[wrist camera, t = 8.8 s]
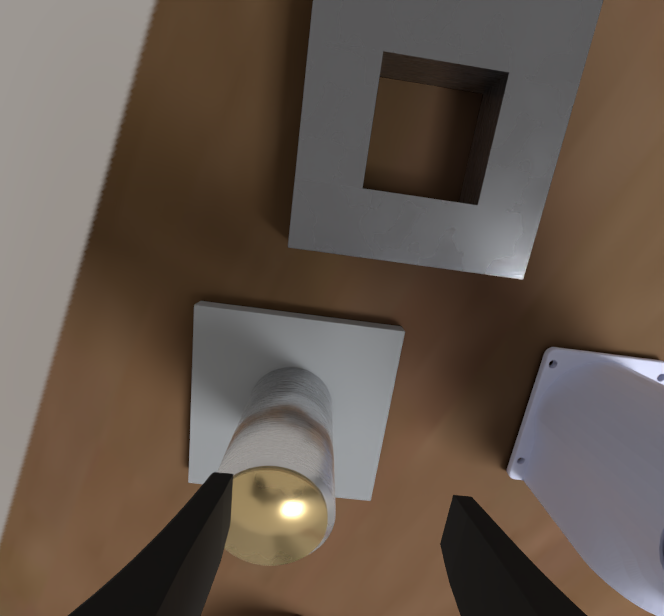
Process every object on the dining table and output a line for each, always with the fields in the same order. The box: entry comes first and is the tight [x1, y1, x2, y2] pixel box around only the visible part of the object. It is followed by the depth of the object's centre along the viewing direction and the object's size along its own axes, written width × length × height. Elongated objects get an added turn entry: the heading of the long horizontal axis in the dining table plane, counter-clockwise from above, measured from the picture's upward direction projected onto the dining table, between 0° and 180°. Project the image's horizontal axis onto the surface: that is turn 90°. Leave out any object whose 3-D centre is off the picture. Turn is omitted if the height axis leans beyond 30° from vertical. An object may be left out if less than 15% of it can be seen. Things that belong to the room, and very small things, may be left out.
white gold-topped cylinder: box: [217, 367, 335, 565], centre depth 16 cm, size 5×5×8 cm
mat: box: [188, 301, 405, 501], centre depth 21 cm, size 12×12×1 cm
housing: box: [288, 0, 603, 279], centre depth 16 cm, size 12×12×2 cm
